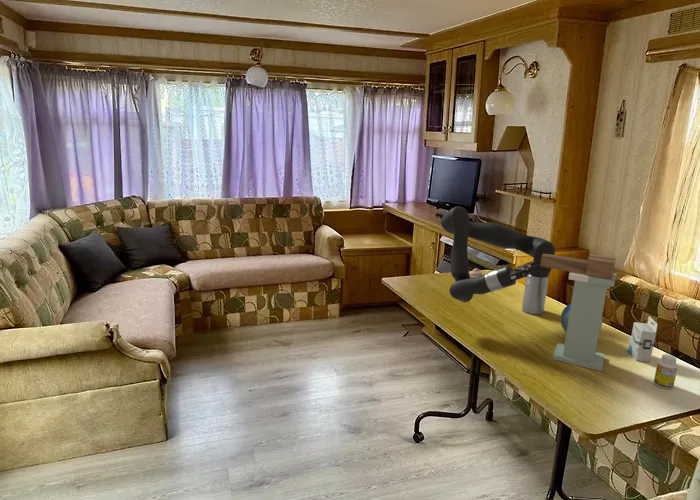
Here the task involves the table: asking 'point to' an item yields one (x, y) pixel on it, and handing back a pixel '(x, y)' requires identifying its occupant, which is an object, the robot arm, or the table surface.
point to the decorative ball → (566, 317)
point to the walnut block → (582, 265)
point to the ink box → (643, 340)
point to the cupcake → (475, 273)
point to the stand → (584, 322)
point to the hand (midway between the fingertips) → (542, 264)
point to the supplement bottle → (666, 371)
